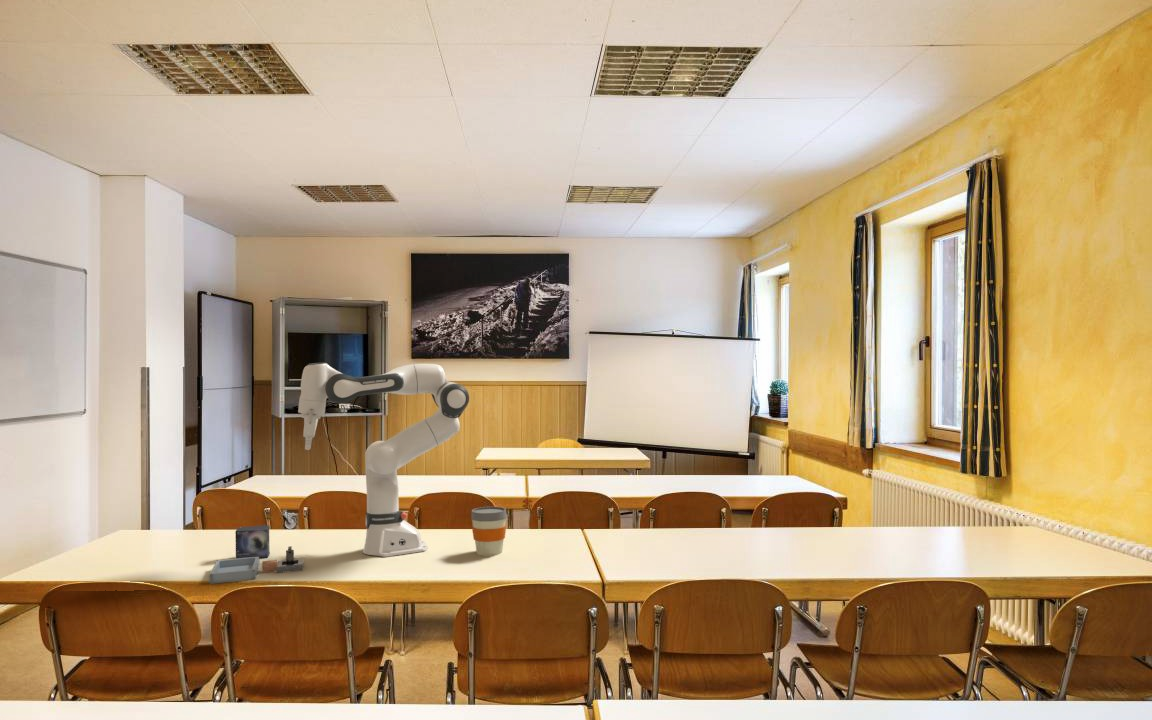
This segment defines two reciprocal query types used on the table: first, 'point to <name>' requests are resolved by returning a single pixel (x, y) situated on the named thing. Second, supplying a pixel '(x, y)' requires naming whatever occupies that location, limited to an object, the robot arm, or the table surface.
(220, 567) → the tray
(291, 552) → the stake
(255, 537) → the small box
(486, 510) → the reusable coffee cup
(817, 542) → the table surface
